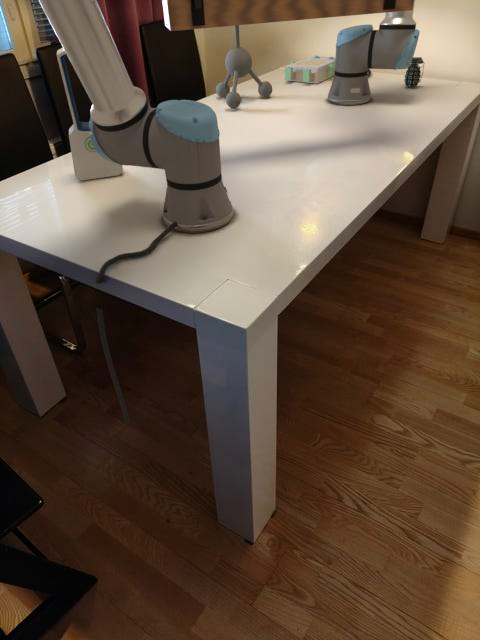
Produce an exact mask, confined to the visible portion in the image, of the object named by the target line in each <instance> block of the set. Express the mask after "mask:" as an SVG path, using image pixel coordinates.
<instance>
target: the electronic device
mask: <svg viewBox="0 0 480 640" xmlns="http://www.w3.org/2000/svg"><path fill="white" fill-rule="evenodd" d="M56 58H57V63H58V67H59V71H60V75H61V78H62V82H63V87H64V91H65V94H66V95H65V96H66V99H67V102H68V106H69V112H70V115H71V118H72V123H73V124H72V125H71V126H70V127H69V129H68V139H69V145H70V152H71V153H70V154H71V157H72V158H71V160H72V165H73V171H74V177H75V178H77V179H78V180H79V181H89V180H96V179H102V178H108V177H116V176H120V175H122V172H123V171H124V167H123V165H120V164H117V163H113V162H109V161H107V160H105V159H104V158H102V157H101V156H100V155H99V154H98V152H97V151H96V150H95V148H94V146H93V144H92V141H91V138H90V134H91V132H92V131H91V130H90V129H89V121H80V117H79V112H78V108H77V105H76V101H75V96H74V93H73V89H72V84H71V80H70V79H71V78H70V75H69V70H68V67H67V62H66V58H68V56H67V54H66V52H65V50H64V48H63V47H61V48H59V49H58V50H56Z"/></svg>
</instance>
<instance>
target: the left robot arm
mask: <svg viewBox="0 0 480 640" xmlns="http://www.w3.org/2000/svg"><path fill="white" fill-rule="evenodd" d="M38 3H39V4H40V5H41V6H40V7H41V9H42V11H43V12H44V14H45V16H46V18H47V20H48V22H49V24H50V25H51V27H52V30H53V31H54V33H55V35H56V37H57V40H59V43H60V44H61V46H62V48H64V50H65V52H66V54H67V58H68V59H69V62H70V64H71V66H72V67H73V70H74V71H75V73H76V75H77V78H78V79H79V81H80V83H81V85H82V87H83V88H84V90H85V92H86V94H87V96H88V98H89V100H90V102H91V103H92V105H91V107H90V112H89V115H90V118H89V121H88V122H89V129H90V130H91V131H92V132H91V134H90V138H91V141H92V144H93V146H94V148H95V150H96V151H97V152H98V154H99V155H100V156H101V157H102V158H104V159H105V160H107V161H109V162H113V163H117V164H120V165H122V166H127V167H128V166H132V167H141V168H150V169H158V170H163V171H164V174H165V180H166V190H165V191H166V192H165V196H164V203H163V207H162V218H163V222H164V224H165V226H167V227H166V228H165V229H164V230H163V231H162V232H161V233H160V234H159V235H157V237H156V238H154V240H153V241H152V242H151V243H150V244H149V245H148V247H146V248H145V249H142V250H140V251H134V252H126V253H121V254H117V255H116V256H113V257H112V258H109V259H107V260H106V261H105V262H104V263H103V264H102V266H101V267H100V269H99V271H98V274H97V276H96V280H95V284H96V285H99V284H101V283H102V282H103V279H104V276H105V273H106V271H107V269H108V268H109V267H110V266H112V265H113V264H115V263H117V262H119V261H122V260H125V259H131V258H132V259H133V258H140V257H143V256H146V255H148V254H150V253H151V252H152V251H153V250H154V249H155V248H156V246H157V245H158V244H159V243H160V242H161V241H162V240H163V239H164V238H165V237H167V235H169V234H170V232H172V231H177V232H180V233H190V234H191V233H192V234H193V233H194V234H195V233H196V234H197V233H205V232H206V233H207V232H210V231H215V230H216V229H220V228H222V227H224V226H226V225H227V224H228V223H230V221H231V220H232V218H233V216H234V212H233V211H234V210H233V205H232V201H231V200H230V197H229V195H228V193H229V192H228V190H227V187H226V186H225V184H224V182H223V175H222V174H223V173H222V161H221V159H222V158H221V145H220V136H221V135H220V129H219V123H218V117H217V113H216V112H215V111H214V109H213V108H212V106H209V105H208V104H205V103H203V102H200V101H197V100H191V99H179V100H178V99H169V100H166V101H162V102H160V103H159V104H158V105H157V106H156V107H151V104H150V102H149V100H148V98H147V96H146V93H145V91H144V90H143V89H141V88H140V87H138V86H135V85H133V82H132V80H131V78H130V75H129V74H128V73H129V72H128V71H127V68H126V66H125V63H124V62H123V59H122V57H121V54H120V52H119V50H118V47H117V45H116V43H115V40H114V38H113V36H112V33H111V30H110V28H109V26H108V24H107V22H106V19H105V17H104V15H103V12H102V10H101V7H100V5H99V3H98V1H97V0H38ZM191 11H192V22H193V26H201V25H205V17H204V4H203V0H191ZM96 317H97V323H98V329H99V335H100V340H101V345H102V348H103V349H102V350H103V354H104V356H105V360H106V363H107V367H108V371H109V374H110V377H111V380H112V383H113V386H114V389H115V392H116V395H117V398H118V402H119V405H120V408H121V411H122V415H123V419H124V423H125V424H126V425H129V424H130V423H131V420H130V417H129V413H128V409H127V406H126V402H125V398H124V396H123V392H122V389H121V386H120V384H119V383H120V382H119V379H118V377H117V374H116V371H115V367H114V364H113V359H112V356H111V353H110V348H109V345H108V339H107V334H106V328H105V321H104V313H103V309H102V308H100V307H96Z"/></svg>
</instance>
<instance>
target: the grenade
mask: <svg viewBox="0 0 480 640" xmlns="http://www.w3.org/2000/svg"><path fill="white" fill-rule="evenodd" d="M421 64H422V66H420V65H421ZM425 64H426V63H425V61H424V60H423V58H422V56H421V57H420V56H416V57H415V56H413V59H412V62H411V64H410V66H409V67H408V68H407V69H406V71H405V74H404V85H405V86H406V88H408V89H412V88H413V89H414V88H415V87H417V86H418V85H419V84H420V82H421V81H422V78H423V74H424V71H421V68H422V70H424V69H425Z"/></svg>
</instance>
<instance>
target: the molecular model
mask: <svg viewBox="0 0 480 640" xmlns="http://www.w3.org/2000/svg"><path fill="white" fill-rule="evenodd" d="M234 41H235V42H234V43H235V44H234V45H235V47H233V48H232V49H230V50H229V51H228V52H227V54H226V56H225V59H224V66H225V70H226V71H227V74H226V77H225V79H224V81H221V82H219V83H218V84H216V86H215V93H216V95H217V96H218V97H219V98H223V99H224V98H225V103H226V105H227V107H228V108H231V109H236V108H238V107H240V105H241V103H242V97H241V94H240V93H239V92H237V89H238V80H239V79H241V78H244V77H246V76H247V75H248V74H249V75H250V77H251V78H252V79H253V80H254V81H255V83H257V85H258V87H257V92H258V94H259V96H260V97H262V98H268V97H270V96H271V95H272V93H273V86H272V84H271V83H270V81H266V80H265V81H264V80H263V81H262V80H261V79H260V78H259V77H258V76H257V74H256V73H255V72H254V71H253V70H252V68H253V67H252V66H253V59H252V56H251V54H250V52H249V51H248V50H247V49H246V48H244V47H241V45H240V44H241V43H240V41H241V40H240V25H236V26H234ZM231 76H232V77H233V78H232V79H233V80H232V86H231V88H230V85H229V81H230V79H231Z"/></svg>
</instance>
